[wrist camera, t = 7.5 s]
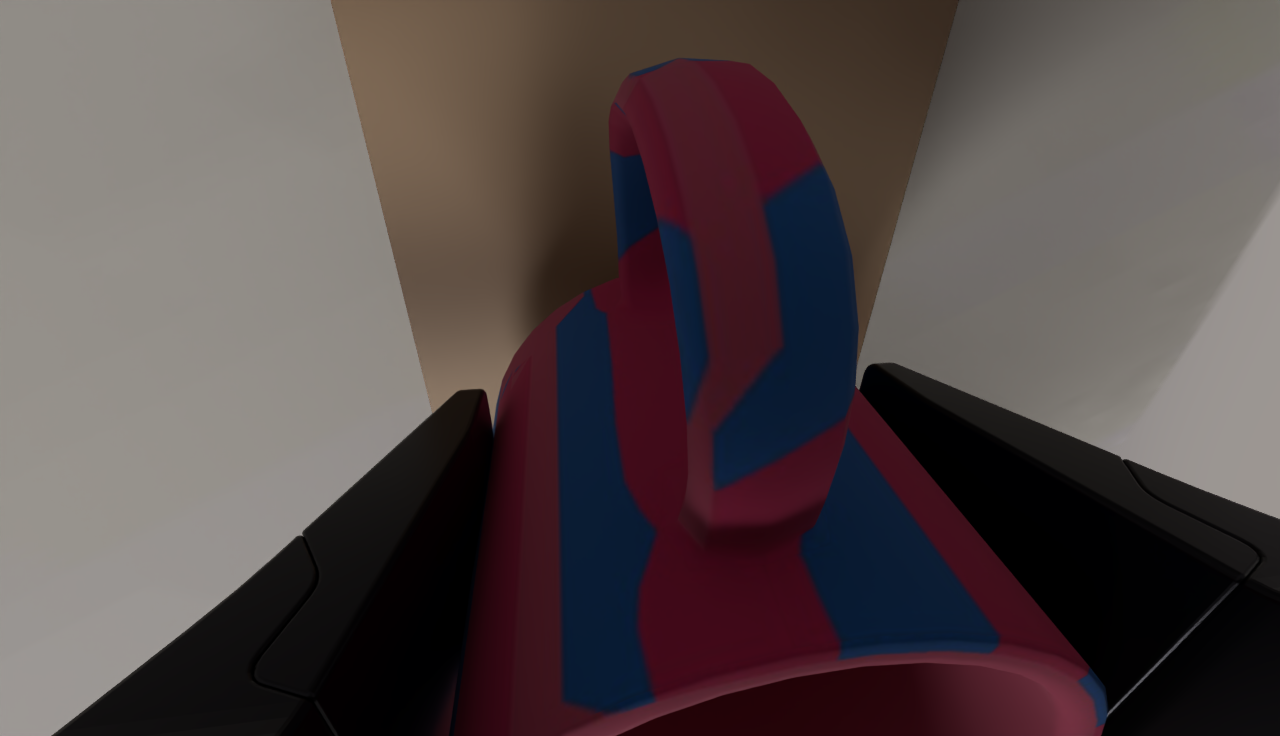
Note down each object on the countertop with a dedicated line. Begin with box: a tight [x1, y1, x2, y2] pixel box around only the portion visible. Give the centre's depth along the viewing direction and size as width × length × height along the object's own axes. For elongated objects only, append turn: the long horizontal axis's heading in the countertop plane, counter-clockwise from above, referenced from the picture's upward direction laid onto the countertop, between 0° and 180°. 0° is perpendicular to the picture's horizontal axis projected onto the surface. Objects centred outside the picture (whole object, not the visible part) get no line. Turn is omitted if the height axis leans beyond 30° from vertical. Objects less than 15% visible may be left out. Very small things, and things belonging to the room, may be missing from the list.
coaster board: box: [331, 0, 959, 427], centre depth 12 cm, size 12×10×1 cm
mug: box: [449, 58, 1109, 736], centre depth 7 cm, size 7×10×7 cm
